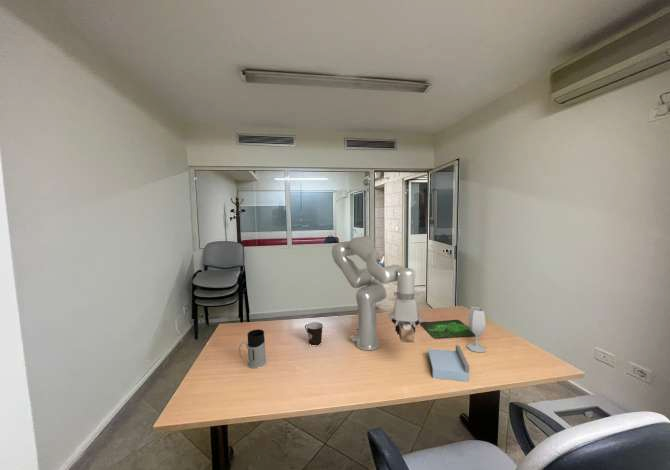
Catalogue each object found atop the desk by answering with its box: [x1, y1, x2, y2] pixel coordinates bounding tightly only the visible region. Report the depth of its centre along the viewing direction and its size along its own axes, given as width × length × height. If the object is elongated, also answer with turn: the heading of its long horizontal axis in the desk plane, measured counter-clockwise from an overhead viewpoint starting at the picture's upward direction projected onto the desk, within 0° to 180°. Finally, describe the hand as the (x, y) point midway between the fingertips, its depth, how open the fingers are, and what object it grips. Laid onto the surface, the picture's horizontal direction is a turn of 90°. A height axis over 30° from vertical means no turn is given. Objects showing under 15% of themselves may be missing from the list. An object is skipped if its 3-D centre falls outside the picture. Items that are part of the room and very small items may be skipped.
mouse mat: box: [419, 319, 475, 340], centre depth 157 cm, size 27×22×1 cm
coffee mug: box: [304, 321, 324, 346], centre depth 145 cm, size 12×9×10 cm
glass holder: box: [238, 329, 267, 369], centre depth 123 cm, size 9×14×15 cm, turn 149°
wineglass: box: [466, 306, 487, 353], centre depth 134 cm, size 9×9×21 cm
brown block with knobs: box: [398, 321, 415, 344], centre depth 121 cm, size 6×12×6 cm, turn 176°
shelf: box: [427, 344, 470, 383], centre depth 118 cm, size 14×17×7 cm
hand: (405, 333), depth 121 cm, fingers closed on brown block with knobs, 6 cm apart
